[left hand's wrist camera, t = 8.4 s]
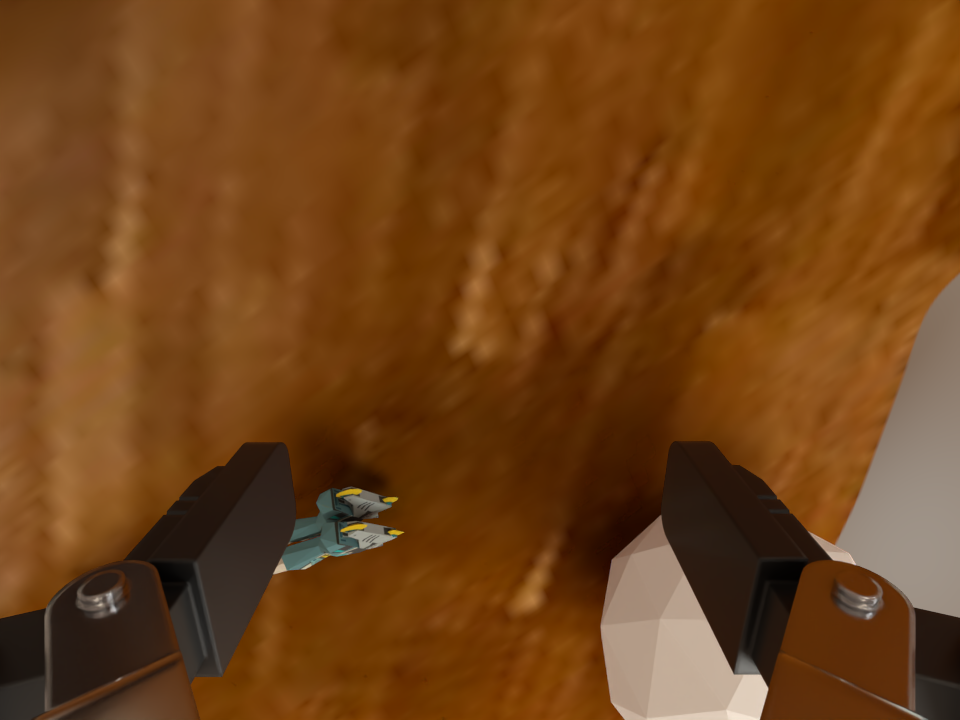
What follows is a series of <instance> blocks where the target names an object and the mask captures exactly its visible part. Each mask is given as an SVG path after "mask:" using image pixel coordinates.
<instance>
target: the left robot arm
mask: <svg viewBox="0 0 960 720" xmlns="http://www.w3.org/2000/svg"><path fill="white" fill-rule="evenodd" d="M179 498H180V499H179V501H176V502H175V503H174V504H173V505H172V506H171V508H170V509H169V510H168V511H167V515H163V517H162V518H161V519H160V520H159V521H158V522H157V523H156V524H155V526H154V527H153V528H152V529H151V530H150V531H149V532H148V533H147V535H146V536H145V537H144V538H143V539H142V540H141V541H140V542H139V544H138V545H137V546H136V547H135V548H134V549H133V550H132V551H131V553H130V554H129V555H128V556H127V557H126V558H125V559H124V560H123V561H118V562H114V563H110V564H106V565H103V566H100V567H98V568H95V569H93V570H90V571H88V572H86V573H84V574H82V575H81V576H79V577H77V578H76V579H74V580H72V581H71V582H70V583H68V584H67V585H65V586H64V587H63V588H62V589H61V590H60V591H58V593H57V594H56V595H55V596H54V597H53V598H52V599H51V601H50V602H49V604H48V606H47V608H45V609H41V610H37V611H32V612H28V613H23V614H19V615H14V616H10V617H6V618H1V619H0V720H200V717H199V714H198V710H197V706H196V703H195V699H194V696H193V692H192V689H191V683H192V681H193V679H194V677H222V676H223V674H224V672H225V670H226V668H227V666H228V664H229V662H230V660H231V658H232V656H233V654H234V652H235V650H236V647H237V645H238V643H239V641H240V639H241V637H242V635H243V633H244V631H245V629H246V627H247V625H248V623H249V621H250V619H251V617H252V615H253V613H254V611H255V609H256V607H257V605H258V603H259V601H260V599H261V597H262V595H263V593H264V591H265V589H266V587H267V585H268V583H269V581H270V579H271V577H272V575H273V573H274V571H275V569H276V567H277V565H278V563H279V561H280V559H281V557H282V555H283V553H284V551H285V549H286V547H287V545H288V543H289V541H290V539H291V537H292V534H293V531H294V527H295V521H296V503H295V496H294V489H293V482H292V475H291V468H290V461H289V454H288V450H287V447H286V445H285V444H284V443H282V442H247V443H244V444H243V445H242V446H241V447H240V449H239V450H238V451H237V452H236V453H235V455H234V456H233V457H232V458H231V459H230V461H229V462H228V463H227V464H226V465H225V466H217V467H215V468H214V469H212V470H211V471H209V472H207V473H206V474H204V475H203V476H201V477H199V478H198V479H196V480H195V481H194V482H193V483H192V484H191V485H190V486H189V487H188V488H187V489H186V491H185V492H184V493H183V494H182V495H181V496H180V497H179ZM661 518H662V525H663V529H664V533H665V535H666V538H667V540H668V542H669V544H670V546H671V548H672V550H673V552H674V554H675V556H676V558H677V560H678V562H679V564H680V566H681V568H682V570H683V572H684V574H685V576H686V578H687V580H688V582H689V584H690V586H691V589H692V591H693V593H694V595H695V597H696V599H697V601H698V603H699V605H700V607H701V609H702V611H703V613H704V615H705V617H706V619H707V621H708V623H709V625H710V627H711V629H712V631H713V633H714V635H715V637H716V639H717V641H718V643H719V645H720V647H721V649H722V651H723V653H724V656H725V658H726V660H727V662H728V664H729V666H730V668H731V670H732V672H733V674H734V675H761V676H762V678H763V680H764V681H765V683H766V685H767V687H768V692H767V696H766V699H765V703H764V706H763V710H762V714H761V717H760V720H960V618H958V617H954V616H949V615H945V614H940V613H936V612H931V611H927V610H922V609H918V608H914V607H913V606H912V604H911V602H910V601H909V599H908V598H907V597H906V596H905V595H904V594H903V593H902V591H900V590H899V589H898V588H897V587H896V586H895V585H893V584H892V583H890V582H889V581H888V580H886V579H884V578H883V577H881V576H879V575H878V574H876V573H874V572H872V571H870V570H867V569H865V568H862V567H860V566H857V565H854V564H850V563H846V562H842V561H835V560H832V558H831V557H830V556H829V555H828V554H827V553H826V552H825V550H824V549H823V548H822V547H821V546H820V545H819V544H818V542H817V541H816V540H815V539H814V538H813V537H812V536H811V535H810V533H809V532H808V531H807V530H806V529H805V528H804V527H803V525H802V524H801V523H800V522H799V521H798V520H797V519H796V517H795V516H794V515H793V514H789V510H788V508H787V507H786V506H785V505H784V504H783V503H782V502H781V500H777V496H776V495H775V494H774V492H773V491H772V490H771V489H770V488H769V487H768V486H767V485H766V483H765V482H764V481H763V480H762V479H760V478H759V477H757V476H756V475H754V474H752V473H751V472H749V471H748V470H746V469H744V468H743V467H741V466H740V465H731V464H730V463H729V461H728V460H727V459H726V458H725V456H724V455H723V454H722V453H721V452H720V450H719V449H718V448H717V447H716V446H715V444H714V443H712V442H709V441H675V442H673V443H672V444H671V446H670V449H669V454H668V461H667V468H666V475H665V482H664V489H663V497H662V504H661Z"/></svg>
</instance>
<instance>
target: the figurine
mask: <svg viewBox="0 0 960 720" xmlns="http://www.w3.org/2000/svg"><path fill="white" fill-rule="evenodd" d="M397 499H398V498H396V497H384V496H381V495H378V494H375V493H371V492H368V491H365V490H361V489H358V488H355V487H352V486H351V487H348V488H344V489H342V490H339V489H335V488H331V489H329V490H327V491H325V492H323V493H322V494H320V496H319V498H318V500H317V503H316V504H317V506H318V508H319V510H320V512H319V514H318V516H317V517H311V518H304V519H297V520H296V521H295V527H294V531H293V534H292V537H291V539H290V541H289V543H288V544H290V543H292V542H296V541H304V540H307V539H310V538H313V537H317V536H320V535H321V536H320V537H317V538H314V539H311V540H308V541H304V542H301V543H298V544H295V545H292V546H289V547H286V549H285V551H284V553H283V555H282V557H281V559H280V561H279V563H278V565H277V567H276V569H275V571H274V573H273V574H276V573H280V572H283V571H287V570H297V569H306V568H308V567H310V566H312V565H313V564H315V563H317V562H319V561H320V560H322V559H324V558H326V557H328V556H329V555H333V556H342V555H348V554H353V553H359V552H362V551H364V550H367V549H370V548H374V547H379V546H383V543H384V542H387V541H389V540H392V539H394V538H397V535H399V534H401V533H404V532H402V531H399V530H396V529H395V528H391V527H386V526H380V525H375V524H370V523H365V522H360V521H362V520H363V519H368V518H378V512H380V511H383V510H385V509H387V508H390V507H392V506H391V503H393V502H395V501H396V500H397Z"/></svg>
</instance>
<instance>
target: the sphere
mask: <svg viewBox="0 0 960 720" xmlns="http://www.w3.org/2000/svg"><path fill="white" fill-rule="evenodd" d="M809 533H810V532H809ZM810 535H811V536H812V537H813V538H814V539H815V540H816V541H817V542H818V544H819V545H820V546H821V547H822V548H823V549H824V550H825V552H826V553H827V554H828V555H829V556H830V557H831V558H832V560H835V561H842V562H846V563H850V564H854V565H856V564H855V562H854V560H853V559H852V557H851V555H850V554H849V553H848V552H846V551H844V550H842V549H840V548H839V547H837V546H835V545H833V544H831V543H829V542H827V541H825V540H823V539H821V538H820V537H818V536H816V535H814V534H812V533H810ZM601 637H602V643H603V650H604V657H605V664H606V670H607V677H608V684H609V691H610V697H611V702H612V704H613V705H614V706H615V707H616V709H617V710H618V711H619V713H620V714H621V715H622V717H623V718H624V719H625V720H760V717H761V714H762V710H763V706H764V703H765V699H766V696H767V692H768V687H767V685H766V683H765V681H764V680H763V678H762V676H761V675H734V674H733V672H732V670H731V668H730V666H729V664H728V662H727V660H726V658H725V656H724V653H723V651H722V649H721V647H720V645H719V643H718V641H717V639H716V637H715V635H714V633H713V631H712V629H711V627H710V625H709V623H708V621H707V619H706V617H705V615H704V613H703V611H702V609H701V607H700V605H699V603H698V601H697V599H696V597H695V595H694V593H693V591H692V589H691V586H690V584H689V582H688V580H687V578H686V576H685V574H684V572H683V570H682V568H681V566H680V564H679V562H678V560H677V558H676V556H675V554H674V552H673V550H672V548H671V546H670V544H669V542H668V540H667V538H666V535H665V533H664V529H663V525H662V518H661V515H660V516H659V517H658V518H657V519H656V520H655V521H654V522H653V523H651V524H650V525H649V526H648V527H647V528H646V529H645V530H644V531H643V532H642V533H641V534H639V535H638V536H637V537H636V538H635V539H634V540H633V541H632V542H631V543H630V544H629V545H627V546H626V547H625V548H624V549H623V550H622V551H621V552H620V553H619V554H618V555H617V556H615V557H614V558H613V559H612V562H611V568H610V574H609V580H608V585H607V591H606V597H605V603H604V609H603V615H602V621H601Z"/></svg>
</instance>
